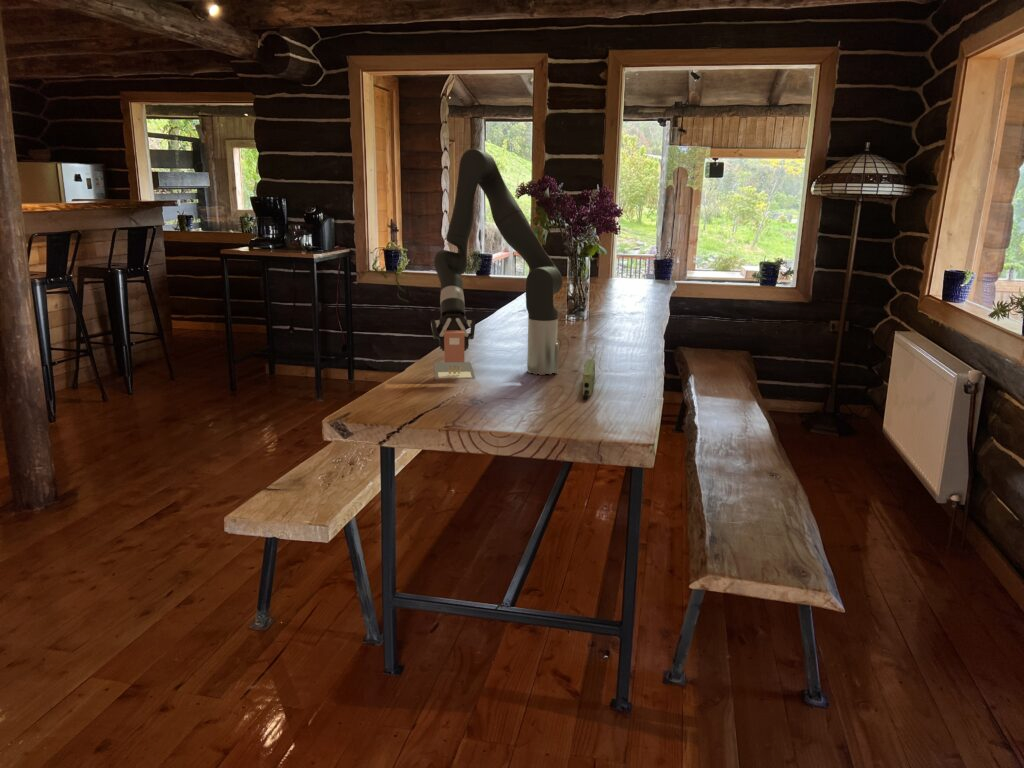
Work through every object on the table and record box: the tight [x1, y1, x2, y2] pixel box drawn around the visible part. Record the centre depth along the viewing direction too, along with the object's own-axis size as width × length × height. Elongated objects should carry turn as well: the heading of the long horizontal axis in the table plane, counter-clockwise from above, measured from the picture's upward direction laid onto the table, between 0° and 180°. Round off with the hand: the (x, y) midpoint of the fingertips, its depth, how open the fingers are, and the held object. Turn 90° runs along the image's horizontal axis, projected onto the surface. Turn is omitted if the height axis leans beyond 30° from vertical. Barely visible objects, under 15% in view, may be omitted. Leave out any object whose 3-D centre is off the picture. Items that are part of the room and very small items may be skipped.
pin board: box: [433, 361, 476, 381], centre depth 228 cm, size 12×22×4 cm, turn 7°
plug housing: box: [443, 330, 465, 362], centre depth 220 cm, size 6×5×9 cm
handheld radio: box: [582, 358, 596, 401], centre depth 212 cm, size 7×3×25 cm
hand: (454, 349), depth 219 cm, fingers closed on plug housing, 6 cm apart
